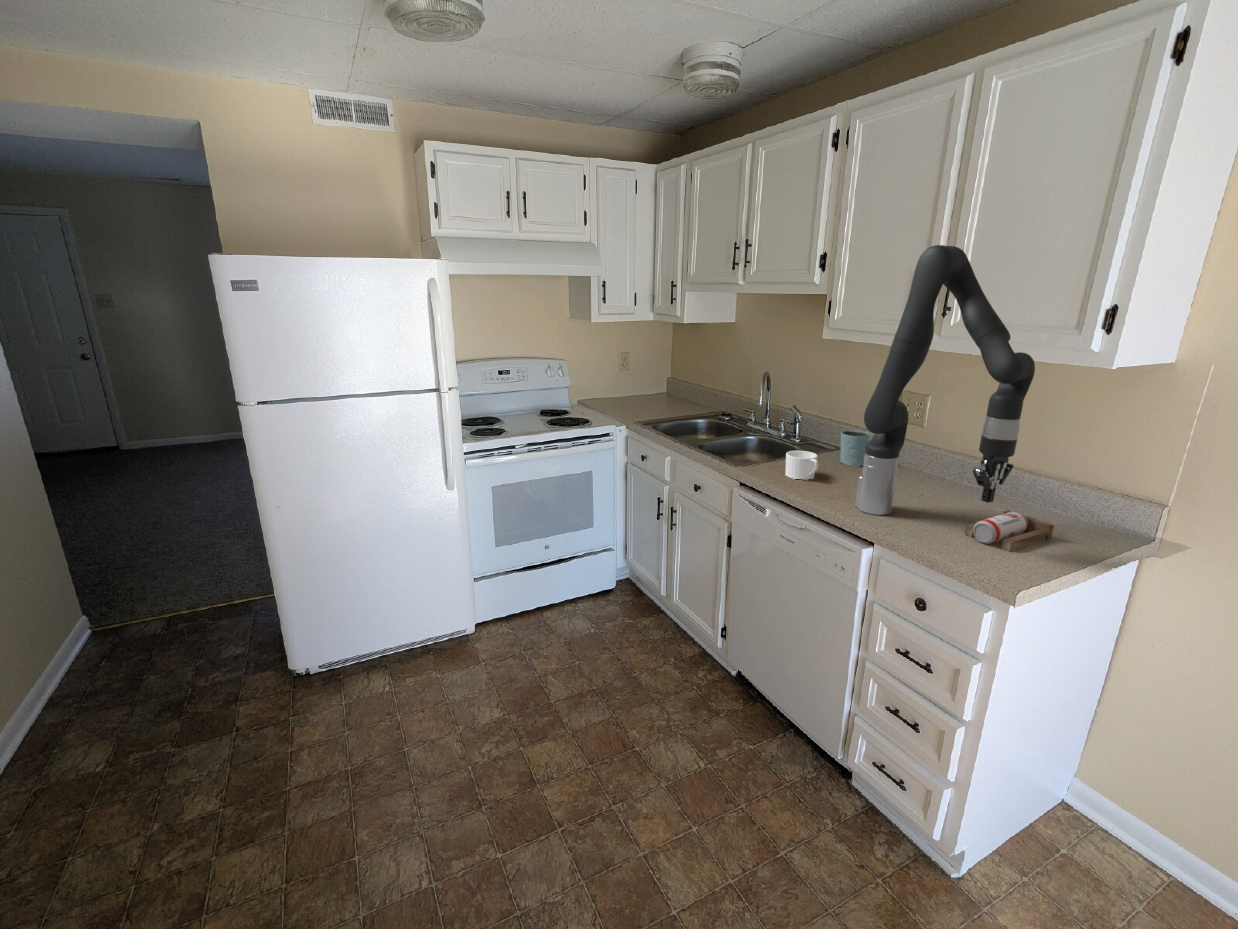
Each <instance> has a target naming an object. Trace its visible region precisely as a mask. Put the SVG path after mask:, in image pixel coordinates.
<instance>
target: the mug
mask: <svg viewBox="0 0 1238 929" xmlns="http://www.w3.org/2000/svg"><path fill="white" fill-rule="evenodd" d="M818 468H819V461H818V455H817V453H815V452H811V451H806V450H790V451H787V452H786V453H785V471H784V472H785V473H784V475H785V477H786V476H788V477H790V478H793V479H792V480H794V479H811V480H813V479H815V476H816V475H815V474H816V471H817V470H818ZM788 477H787V478H788ZM790 478H789V479H790ZM812 478H813V479H812Z"/></svg>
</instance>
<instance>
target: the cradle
mask: <svg viewBox="0 0 1238 929" xmlns="http://www.w3.org/2000/svg"><path fill="white" fill-rule="evenodd" d="M1009 512H1013V511H1012V510H1004V511H1003V514H1005V513H1009ZM1023 515H1024V514H1023ZM1024 516H1025V517H1026V518H1027V520H1028V527H1027V528H1026V529H1025V531H1024V532H1023V533H1021V534H1018V535H1015V536H1012V537H1009V538H1006V539H1003V540H1002V543H1001V548H1003V549H1002V550H1004V549H1005V550H1004V551H1007V552H1012V550H1013V551H1016V550H1019V549H1022V548H1025V547H1026V548H1027V547H1029V546H1032V544H1033V545H1036V544H1039V543H1042V542H1045V541H1048V540H1052V537H1053V533H1054V528H1055V525H1054V524H1051V523H1049V522H1045V521H1043V520H1040V519H1038V518H1033V517H1030V516H1028V515H1024ZM975 524H976V523H972V524H968V525H965V530H964V535H965V536H967V535H968V536H967V537H970V538H973V537H974V538H975V536H974V534H973V527H974V525H975ZM1001 548H1000V549H1001ZM1018 548H1019V549H1018ZM1015 549H1016V550H1015Z"/></svg>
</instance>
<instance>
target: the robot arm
mask: <svg viewBox="0 0 1238 929" xmlns="http://www.w3.org/2000/svg"><path fill="white" fill-rule="evenodd" d="M943 286H945V288H946V289H947V290H949V292H950V293H951V294H952V296H953V297H954V299H955V301H956V302H957V305H958V307H959V310H960V314H961V319H962V322H963V325H964V327H965V329H966V330H967V331H966V332H968V334H969V336H970V337H971V339H972V340H973V342H974V343H975V345H976V347H977V348H978V349H979V351H980V354H981V359H982V361H983V363H984V366H985V368H986V370H987V373H988V374H989V375H990V376H991V378H992V379H993V380H994V381H996V382H997V383H999V384H998V387H997V389H996V391H995V392H993V393H992V394H991V396H990V398H989V400H988V405H987V409H986V416H985V419H984V422H983V427H982V431H981V436H980V442H979V446H978V451H979V453H980V454H982V458H981V460H980V465H979V467H973V469H972V473H973V475H974V478H975V481H976V483H977V485H978V486H981V487H982V494H981V498H980V499H981V501H982V502H985V503H988V504H990V503H993V502H994V500H995V495H996V490H997V489H998V488H999V486H1000V485H1004V483H1005V481H1006V479H1007V478H1008V476H1009V474H1010V473H1011V471H1012V470H1013V468H1014V464H1011V463H1009V459H1010V457H1013V456H1014V455H1015V452H1016V447H1017V443H1018V437H1019V434H1020V428H1021V425H1020V424H1021V422H1020V421H1021V416H1022V411H1023V406H1024V405H1023V404H1024V401H1025V398H1026V396H1027V393H1028V392H1029V389H1030V387H1031V384H1032V382H1033V380H1034V376H1035V370H1036V365H1035V360H1034V359H1033V357H1032V356H1031V355H1030V354H1028V353H1026V352H1018V351H1017V352H1014V350H1013V348H1012V346H1011V344H1010V340H1011V334H1010V332H1009V330H1008V328H1007V327H1006V325H1005V324H1004V323H1003V321H1002V320H1001V318H1000V316H999V315H998V314H997V312H996V311H995V309H994V307H993V306H992V304H991V303H990V301H989V300H988V298H987V296H986V295H985V292H984V291H983V289H982V287H981V285H980V283H979V281H978V279H977V277H976V274H975V272H974V269H973V268H972V265H971V263H970V260H969V258H968V255H967V254H966V252H964V249H962V248H961V247H958V246H953V245H944V244H943V245H942V244H937V245H935V244H934V245H932V246H930V247H928V248H927V249H925V250H924V251H923V252H922V254H921V255H920V257H919V258H918V260H917V263H916V266H915V270H914V274H913V277H912V282H911V285H910V289H909V294H908V298H907V301H906V303H905V307H904V310H903V312H902V316H901V319H900V321H899V324H898V327H897V329H896V332H895V335H894V337H893V340H892V343H891V346H890V348H889V351H888V356H887V358H886V361H885V363H884V365H883V369H882V371H881V374H880V377H879V380H878V382H877V385H876V387H875V389H874V391H873V393H872V396H871V397H870V399H869V402H868V404H867V405H866V409H865V411H864V415H863V423H864V426H865V428H866V429H867V430H868V432H870V433H872V434H874V435H873V436H872V438H871V439H869V441H868V443H867V444H866V447H865V455H864V464H863V466H862V474H861V475H860V476H859V477H858V483H857V489H856V497H855V507H856V508H858V510H860V511H861V512H863V513H866V514H871V515H877V516H883V515H885V516H886V515H890V514H891V513H892V507H893V500H894V494H895V487H896V480H897V474H898V468H899V467H898V465H899V458H900V453H901V451H902V449H903V447H904V444H905V440H906V436H907V435H906V434H907V429H908V425H909V410H908V408H907V406H906V404H905V403H904V402H903V401H901V400H900V398H901V396H902V393H903V391H904V389H905V387H906V386H907V385H908V383H909V382H910V381H911V380H912V379H913V378H914V376H915V375H916V373H917V372H918V371H919V370H920V369H921V367H922V365H923V364H924V362H925V360H926V357H927V356H928V353H929V351H930V348H931V345H932V342H933V339H934V336H935V334H934V333H935V321H934V320H935V318H934V317H935V316H934V312H935V307H936V306H935V305H936V302H937V300H938V296H939V294H940V292H941V290H942V288H943Z"/></svg>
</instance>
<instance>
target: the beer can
mask: <svg viewBox="0 0 1238 929" xmlns="http://www.w3.org/2000/svg"><path fill="white" fill-rule="evenodd" d="M1025 516H1026V515H1025ZM1025 516H1024V514H1023V513H1020V512H1016V511H1012V512H1009V513H1005V514H1004V513H1002V514H998V515H995V516H992V517H989V518H985V519H982V520H979V521H977V522H976V523H974V524H975V525H974V527H973V534H974V538H976V540H977V541H978V542H979V543H981V542H982V543H981V544H985V545H989V544H994V543H997V542H1001V541H1003V539H1007V538H1010V537H1014V536H1017V535H1021V534H1023V533H1024V531H1025V529H1026V528H1027V527H1028V520H1027V518H1026V517H1025Z"/></svg>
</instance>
